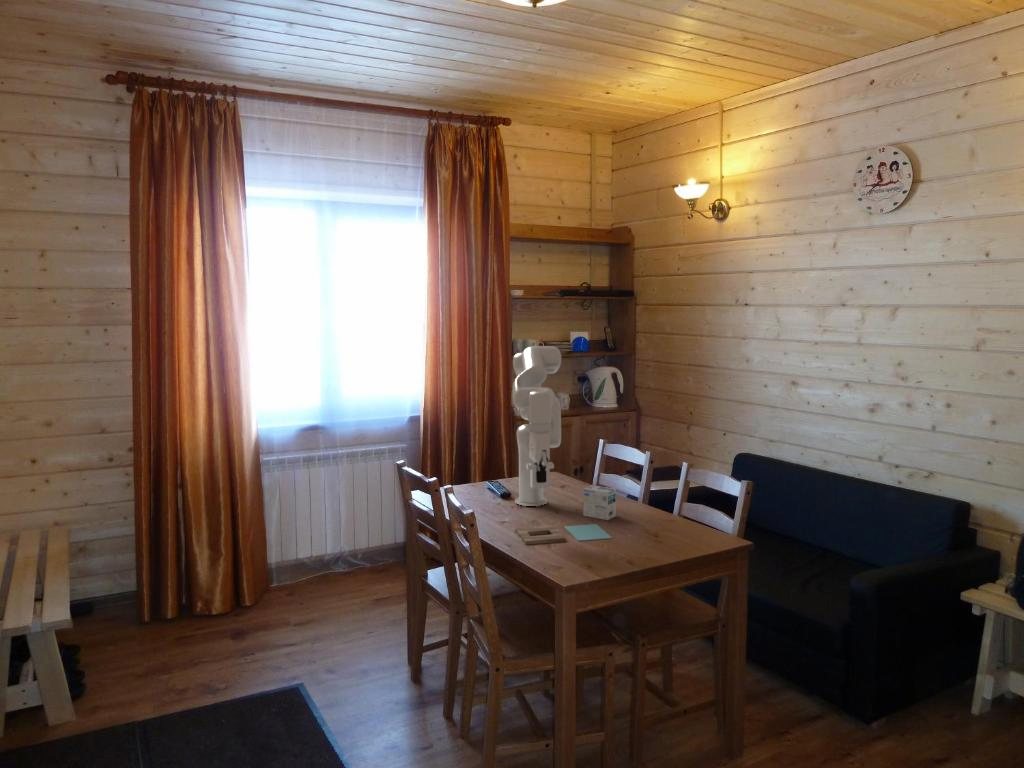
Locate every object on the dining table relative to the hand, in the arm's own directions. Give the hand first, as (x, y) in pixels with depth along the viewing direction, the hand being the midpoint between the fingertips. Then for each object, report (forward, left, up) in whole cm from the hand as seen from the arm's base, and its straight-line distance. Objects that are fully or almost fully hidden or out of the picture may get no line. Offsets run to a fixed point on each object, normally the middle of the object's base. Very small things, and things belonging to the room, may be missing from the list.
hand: (540, 480), depth 258 cm
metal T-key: (0, 0, -2) cm, 2 cm away
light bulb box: (-18, +28, -20) cm, 39 cm away
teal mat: (0, +17, -19) cm, 26 cm away
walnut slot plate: (0, 0, -19) cm, 19 cm away
